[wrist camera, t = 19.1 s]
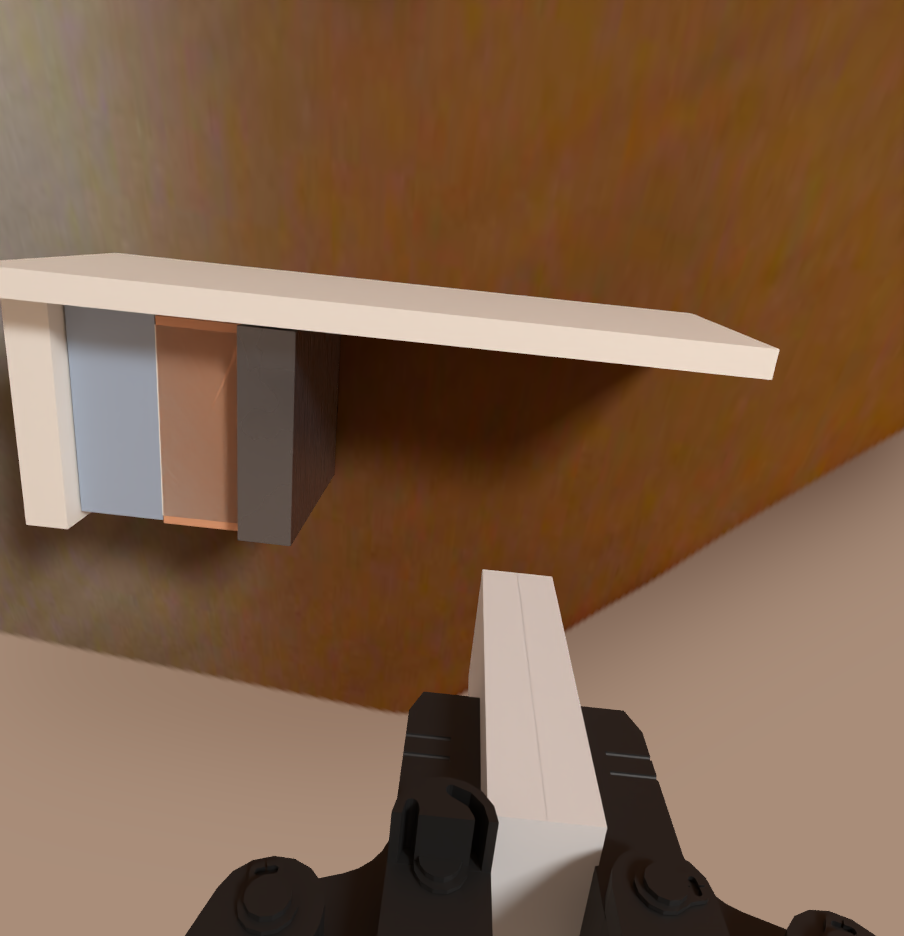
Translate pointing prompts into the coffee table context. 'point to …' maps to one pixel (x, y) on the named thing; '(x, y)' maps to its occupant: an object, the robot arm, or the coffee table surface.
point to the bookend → (284, 428)
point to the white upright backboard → (313, 309)
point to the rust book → (197, 421)
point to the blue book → (115, 410)
